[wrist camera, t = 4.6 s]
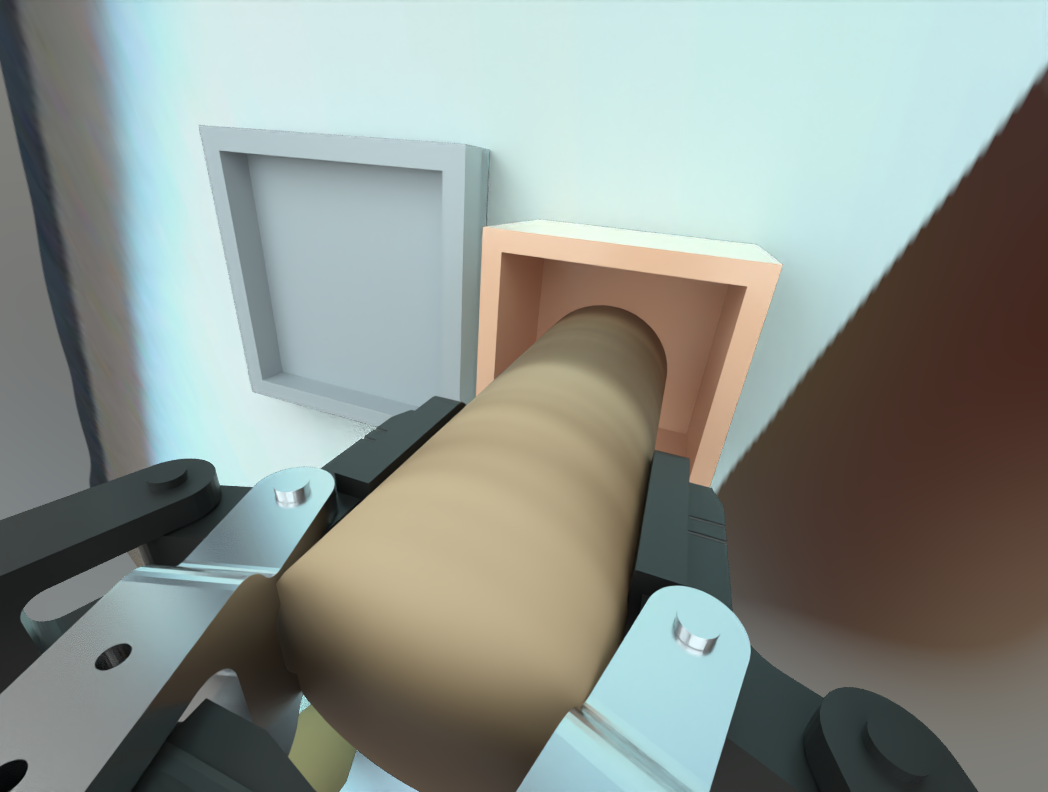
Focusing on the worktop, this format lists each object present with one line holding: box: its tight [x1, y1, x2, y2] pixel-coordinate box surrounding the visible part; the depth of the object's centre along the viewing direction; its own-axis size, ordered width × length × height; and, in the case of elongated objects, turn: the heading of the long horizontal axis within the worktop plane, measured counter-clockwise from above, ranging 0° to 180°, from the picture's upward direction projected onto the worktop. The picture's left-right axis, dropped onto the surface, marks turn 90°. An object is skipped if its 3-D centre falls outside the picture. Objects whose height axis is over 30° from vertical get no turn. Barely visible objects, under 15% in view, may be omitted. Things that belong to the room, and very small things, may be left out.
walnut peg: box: [276, 305, 667, 792], centre depth 11 cm, size 4×4×12 cm
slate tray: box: [199, 125, 489, 427], centre depth 23 cm, size 14×14×2 cm
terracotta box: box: [476, 219, 783, 487], centre depth 18 cm, size 9×9×6 cm
